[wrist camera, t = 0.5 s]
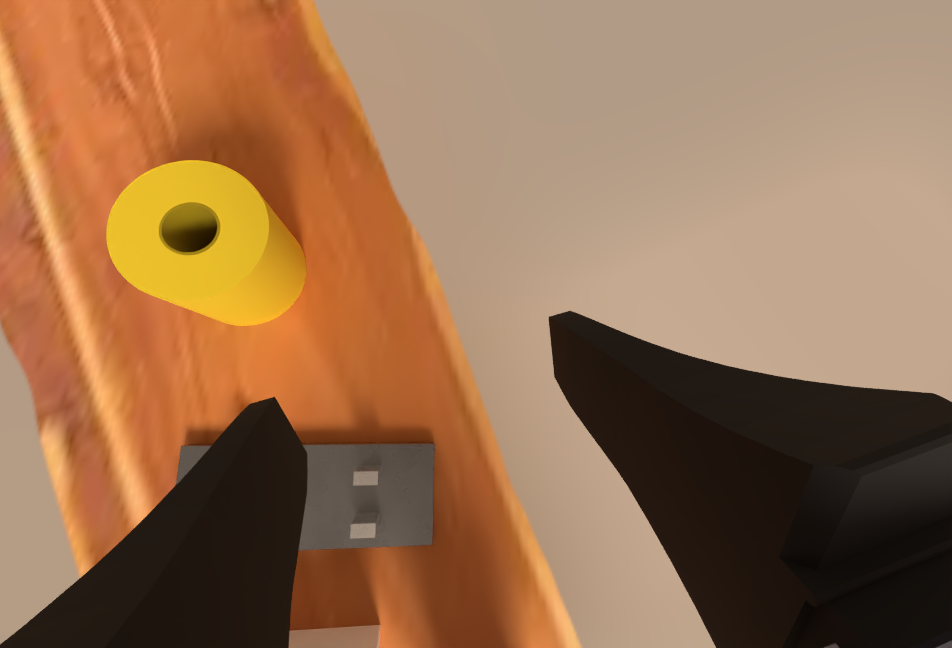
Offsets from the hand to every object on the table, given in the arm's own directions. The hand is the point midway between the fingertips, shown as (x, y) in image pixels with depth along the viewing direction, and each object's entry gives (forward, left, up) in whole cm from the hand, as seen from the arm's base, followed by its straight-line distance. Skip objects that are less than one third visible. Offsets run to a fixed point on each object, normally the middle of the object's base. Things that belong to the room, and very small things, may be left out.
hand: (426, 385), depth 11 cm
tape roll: (+11, +16, -27) cm, 33 cm away
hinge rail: (-8, +9, -27) cm, 29 cm away
